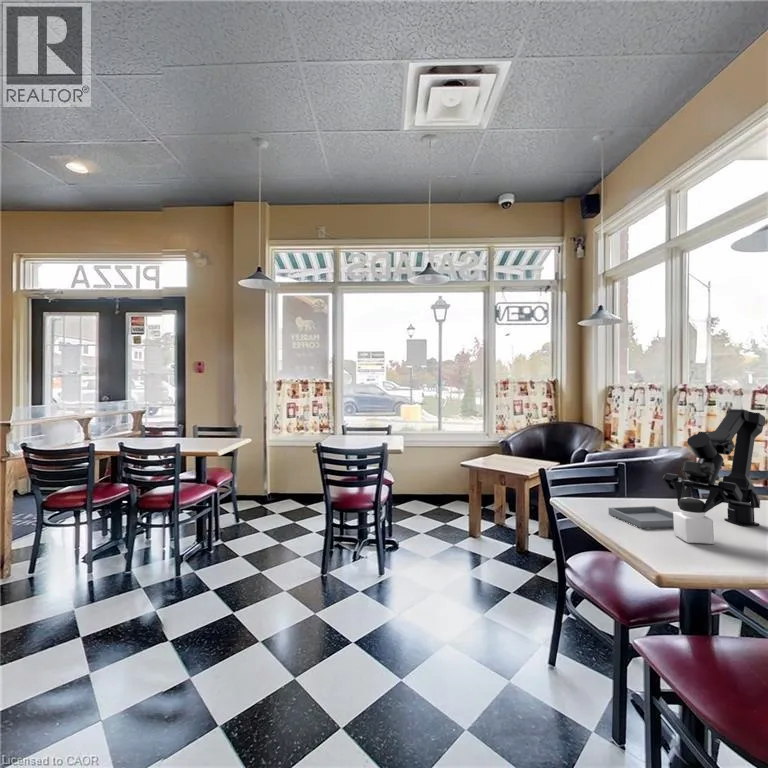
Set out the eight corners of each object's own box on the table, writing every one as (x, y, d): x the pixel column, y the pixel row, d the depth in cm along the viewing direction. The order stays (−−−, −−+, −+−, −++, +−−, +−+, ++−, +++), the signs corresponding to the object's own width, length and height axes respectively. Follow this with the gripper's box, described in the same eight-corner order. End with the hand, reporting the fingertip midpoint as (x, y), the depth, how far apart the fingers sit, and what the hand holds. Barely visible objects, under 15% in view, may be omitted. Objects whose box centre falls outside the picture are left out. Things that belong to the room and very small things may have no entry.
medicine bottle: (714, 544, 112) (712, 502, 112) (686, 542, 113) (684, 501, 113) (699, 535, 119) (697, 496, 119) (673, 534, 120) (671, 495, 120)
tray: (654, 512, 143) (654, 506, 143) (692, 527, 127) (691, 519, 127) (608, 514, 142) (608, 507, 142) (640, 529, 126) (640, 521, 126)
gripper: (664, 448, 127) (646, 486, 122) (735, 455, 111) (719, 499, 105) (677, 469, 131) (661, 507, 125) (749, 479, 114) (734, 523, 109)
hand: (691, 508), depth 116 cm, fingers closed on medicine bottle, 6 cm apart
